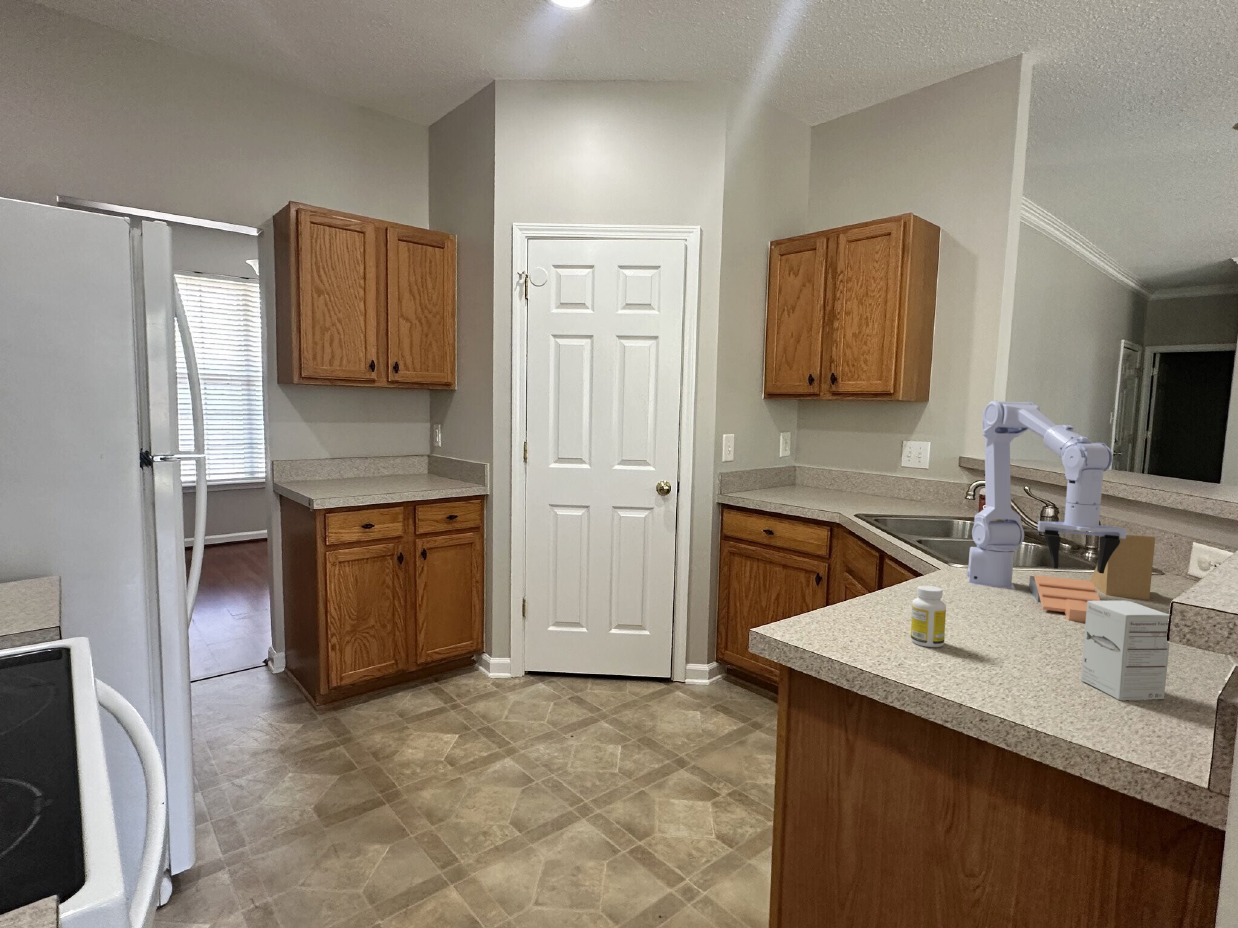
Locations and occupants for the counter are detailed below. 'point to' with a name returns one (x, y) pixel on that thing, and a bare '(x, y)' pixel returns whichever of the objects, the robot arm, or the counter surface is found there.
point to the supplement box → (1125, 650)
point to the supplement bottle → (928, 617)
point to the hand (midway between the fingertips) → (1077, 569)
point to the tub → (1034, 588)
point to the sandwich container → (1128, 568)
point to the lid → (1066, 595)
